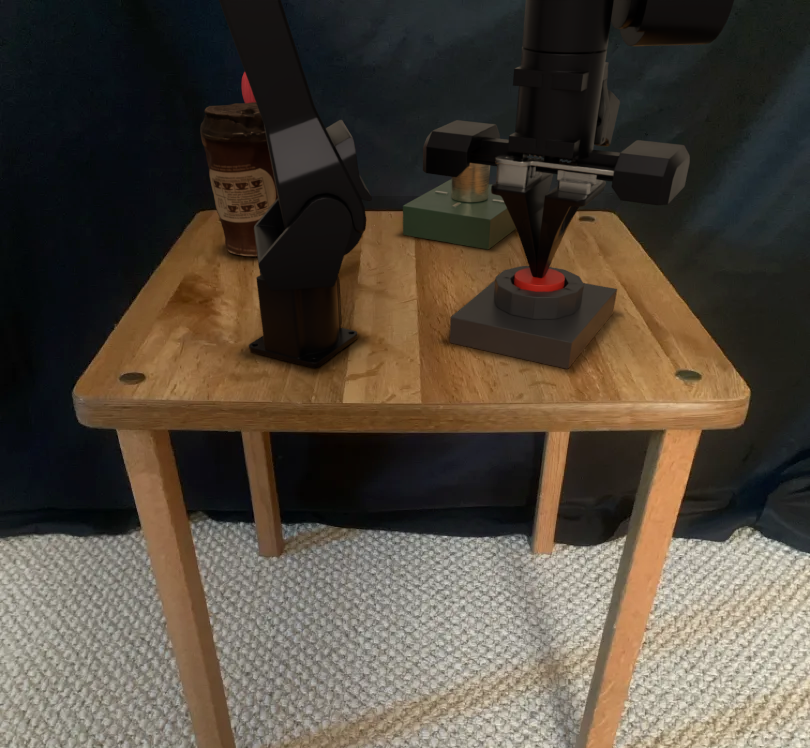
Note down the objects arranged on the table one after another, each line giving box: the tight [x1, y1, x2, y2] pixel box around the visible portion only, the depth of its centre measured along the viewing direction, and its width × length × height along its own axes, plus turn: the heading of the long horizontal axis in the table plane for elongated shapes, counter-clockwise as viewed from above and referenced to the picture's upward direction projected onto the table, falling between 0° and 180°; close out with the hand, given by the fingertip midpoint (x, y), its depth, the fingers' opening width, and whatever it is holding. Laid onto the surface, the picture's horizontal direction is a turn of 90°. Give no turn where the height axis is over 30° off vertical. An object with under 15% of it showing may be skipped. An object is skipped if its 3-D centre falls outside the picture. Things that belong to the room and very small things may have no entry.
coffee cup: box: [199, 102, 278, 257], centre depth 77 cm, size 9×8×13 cm
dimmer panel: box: [402, 178, 517, 250], centre depth 86 cm, size 12×10×3 cm
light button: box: [514, 268, 565, 292], centre depth 64 cm, size 4×4×2 cm
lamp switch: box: [449, 265, 618, 370], centre depth 65 cm, size 12×10×4 cm
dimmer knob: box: [451, 163, 491, 202], centre depth 84 cm, size 4×4×4 cm
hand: (539, 276), depth 63 cm, fingers closed, pressing on light button
